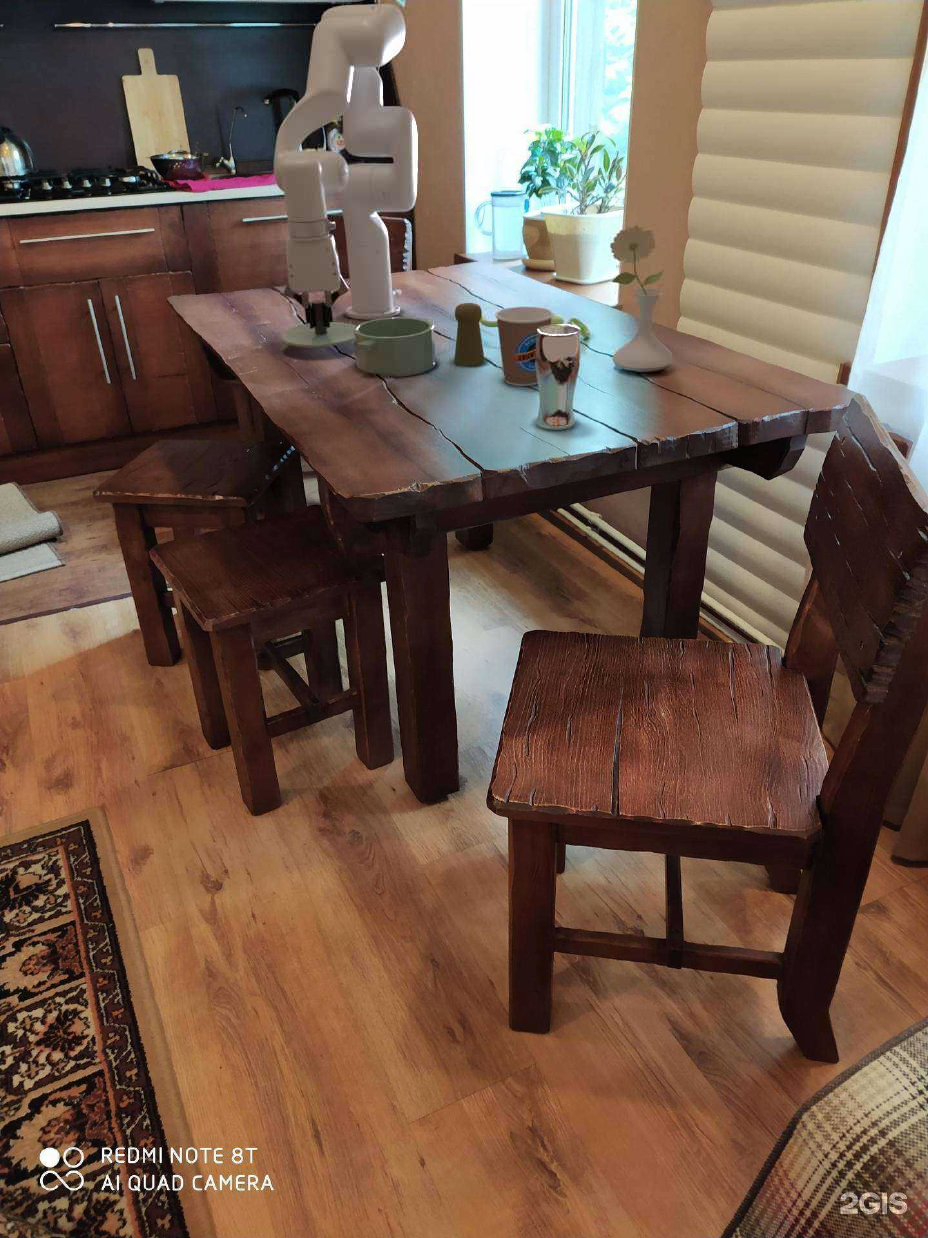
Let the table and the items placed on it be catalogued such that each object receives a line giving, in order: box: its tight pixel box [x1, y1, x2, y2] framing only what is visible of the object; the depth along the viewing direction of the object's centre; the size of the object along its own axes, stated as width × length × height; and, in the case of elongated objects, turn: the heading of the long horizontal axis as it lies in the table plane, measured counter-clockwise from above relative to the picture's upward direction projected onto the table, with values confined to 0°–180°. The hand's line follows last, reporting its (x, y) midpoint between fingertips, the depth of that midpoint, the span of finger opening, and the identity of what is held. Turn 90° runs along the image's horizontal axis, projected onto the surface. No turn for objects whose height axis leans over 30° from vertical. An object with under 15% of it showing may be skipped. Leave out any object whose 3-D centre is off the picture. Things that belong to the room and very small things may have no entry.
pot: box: [353, 316, 436, 378], centre depth 174 cm, size 15×21×7 cm
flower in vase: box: [609, 224, 675, 373], centre depth 163 cm, size 13×11×25 cm
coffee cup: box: [494, 306, 555, 387], centre depth 162 cm, size 10×10×12 cm
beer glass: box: [535, 323, 581, 431], centre depth 142 cm, size 7×7×15 cm
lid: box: [280, 299, 357, 348], centre depth 182 cm, size 16×16×7 cm
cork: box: [453, 302, 486, 367], centre depth 173 cm, size 6×6×11 cm
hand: (320, 325), depth 183 cm, fingers closed on lid, 2 cm apart
